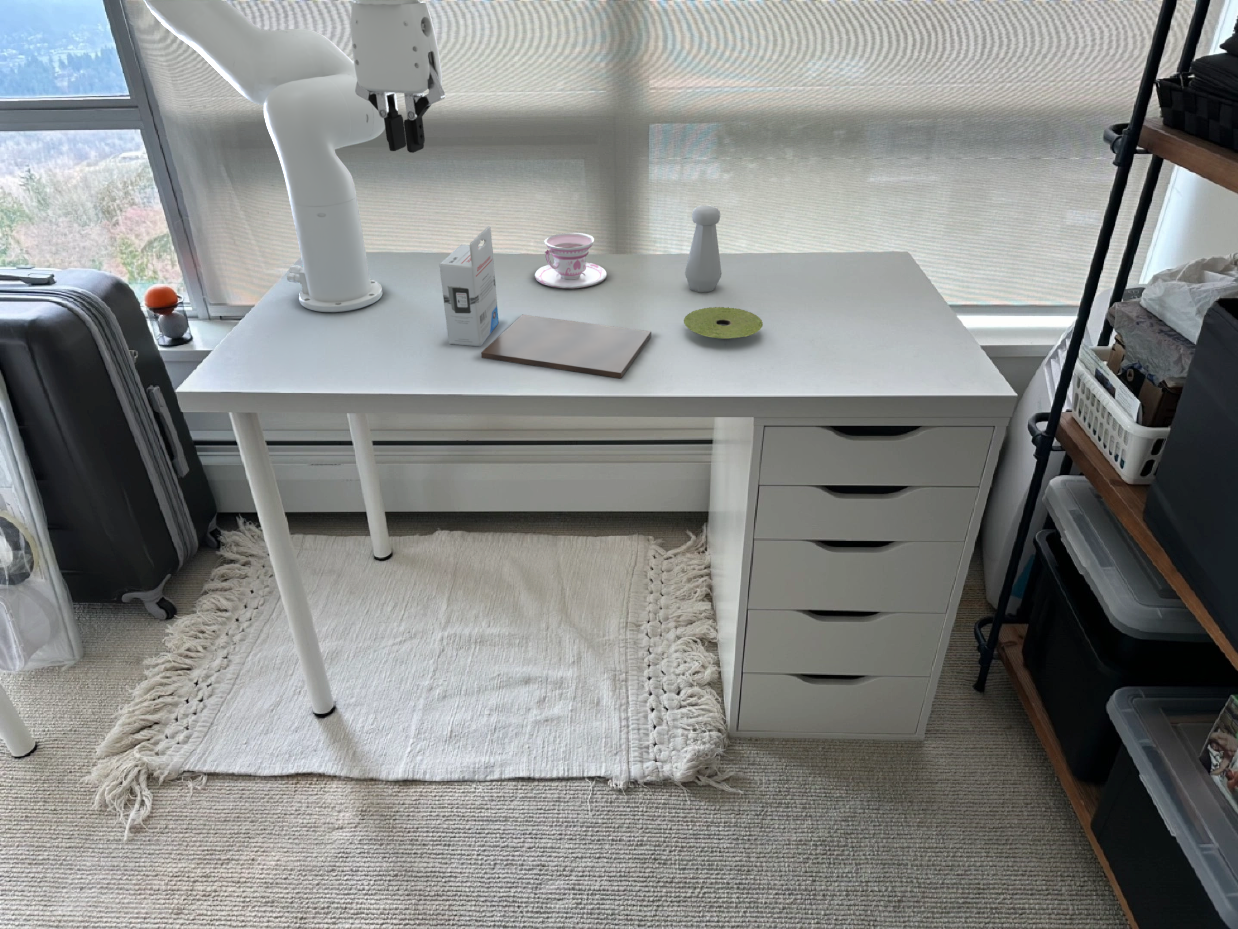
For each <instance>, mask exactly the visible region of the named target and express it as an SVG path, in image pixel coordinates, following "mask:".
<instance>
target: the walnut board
mask: <svg viewBox="0 0 1238 929" xmlns="http://www.w3.org/2000/svg"><path fill="white" fill-rule="evenodd" d="M651 338H652V331H651V330H644V329H637V328H628V327H621V326H615V325H605V324H599V323H590V322H583V321H575V320H567V319H559V318H551V317H544V316H538V315H537V316H536V315H530V314H521V315H520V316H519V317H518V318H517V319H515V320H514V322H512V323H511V324H510V325H508V327H506V328H505V330H504V331H503V332H502V333H501V334H499V335H498V336H497V337H496V338H495V339H493V341H492V342H491V343H490V344H489V345H487V346H486V347H485V348H484V349H483V350H481V352H480V355H481V358H482V359H487V360H494V361H501V362H506V363H507V362H509V363H515V364H521V365H529V366H533V367H542V368H549V369H555V370H562V371H568V372H575V373H583V374H588V375H596V376H603V377H608V378H609V377H611V378H614V379H615V378H616V379H622V378H623V377H624V375H625V374H626V372H627V371H628V369H629V368H630V367H631V365H632V364H633V362H634V361H635V359H636V358H637V357H638V355H639V354H640V353H641V351H642V350H643V349H644V347H645V346H646V345H647V343H648V342H649V340H650V339H651Z"/></svg>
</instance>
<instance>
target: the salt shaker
mask: <svg viewBox="0 0 1238 929" xmlns="http://www.w3.org/2000/svg"><path fill="white" fill-rule="evenodd" d="M691 220H692V222H693V223H694V224H695V227H694V233H693V236H692V241H691V245H690V250H689V253H688V258H687V262H686V265H685V270H684V276H685V278H686V281H687V284H688V287H689V289H690V290H692V291H694V292H698V293H710V292H712V291H714V289H716V287H717V286H718V284H719V281H720V279H721V278H722V273H723V272H722V264H721V258H720V248H719V241H718V240H719V239H718V232H717V224H718V223H719V222H720V220H721V210H720V209H719V208H718V207H717V206H714V205H709V204H703V205H702V204H700V205H698V206H695V208H694V209H693V210H692V212H691Z"/></svg>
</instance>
